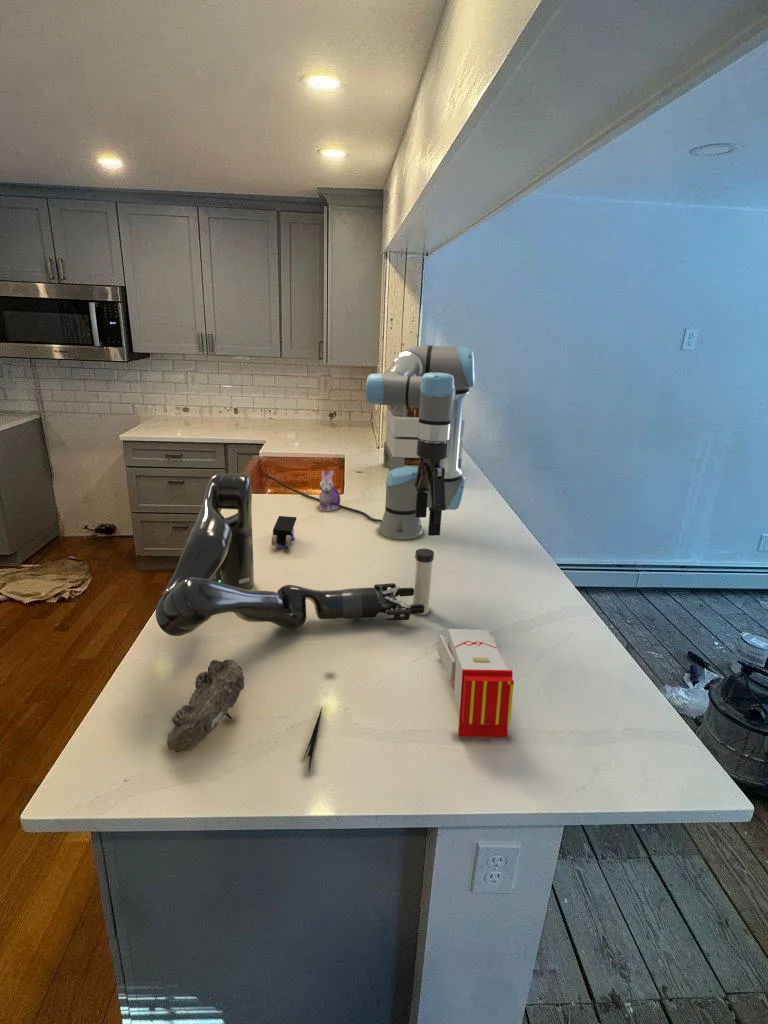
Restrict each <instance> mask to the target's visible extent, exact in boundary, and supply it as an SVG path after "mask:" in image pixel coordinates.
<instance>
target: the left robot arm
mask: <svg viewBox="0 0 768 1024" xmlns="http://www.w3.org/2000/svg"><path fill="white" fill-rule="evenodd" d="M205 488H206V489H205V492H204V495H203V498H202V499H203V500H202V503H201V507H200V509H199V511H198V514H197V516H196V519H195V521H194V523H193V525H192V527H191V530H190V532H189V534H188V537H187V539H186V541H185V545H184V547H183V550H182V552H181V555H180V557H179V560H178V562H177V565H176V568H175V570H174V572H173V574H172V576H171V578H170V580H169V581H168V583H167V585H166V586H165V588H164V590H163V591H162V593H161V595H160V596H159V598H158V600H157V602H156V606H155V619H156V622H157V625H158V626H159V628H160V629H161V630H162V631H163V632H164V633H165V634H167V635H168V636H173V637H181V636H184V635H188V634H189V633H192V632H193V631H195V630H196V629H198V628H199V627H200V626H202V625H203V624H205V623H206V622H207V621H209V620H210V619H212V617H213V616H215V615H220V614H225V613H233V614H235V616H237V617H238V618H239V619H241V620H242V621H245V622H250V623H271V624H274V625H276V626H278V627H279V628H280V627H281V628H282V629H286V630H297V629H300V628H301V627H304V625H305V623H306V621H307V617H308V616H307V600H308V601H310V602H311V603H312V604H313V607H314V611H315V614H316V617H317V618H318V619H319V620H338V619H339V620H340V619H344V620H356V619H372V618H373V619H374V618H377V617H378V615H379V614H385V621H387V622H395V621H397V622H398V621H409V620H410V618H411V617H410V615H420V614H421V613H423V612H424V608H425V607H424V605H423V604H420V605H413V604H409V605H408V604H406V603H403V601H402V600H398V599H397V598H398V597H413V595H414V587H400V586H396V585H397V584H396V583H393V582H392V583H390V582H389V583H377V584H374V586H373V587H356V588H355V587H353V588H345V589H333V590H318V589H312V588H307V587H303V586H299V585H293V584H286V585H285V584H284V585H283V586H281V587H280V588H278V590H277V591H272V590H257V589H256V587H255V571H254V570H255V569H254V543H253V511H252V510H253V509H252V508H253V507H252V503H253V485H252V480H251V477H250V475H248V474H247V473H231V472H230V473H227V472H225V473H223V472H218V473H214V474H213V475H212V476H211V477H210V478H209V480H208V482H207V485H206V487H205ZM220 510H237V512H236V513H234V514H233V515H230V516H227V517H225V516H224V515H223V514H222V513H221V512H220Z"/></svg>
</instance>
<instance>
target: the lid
mask: <svg viewBox="0 0 768 1024" xmlns="http://www.w3.org/2000/svg"><path fill="white" fill-rule="evenodd" d="M414 552H415V554H414V559H415V561H416V560H417V561H420V562H431V561H434V560H435V552H434V550H432V549H430V548H418V549H415V551H414Z"/></svg>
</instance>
